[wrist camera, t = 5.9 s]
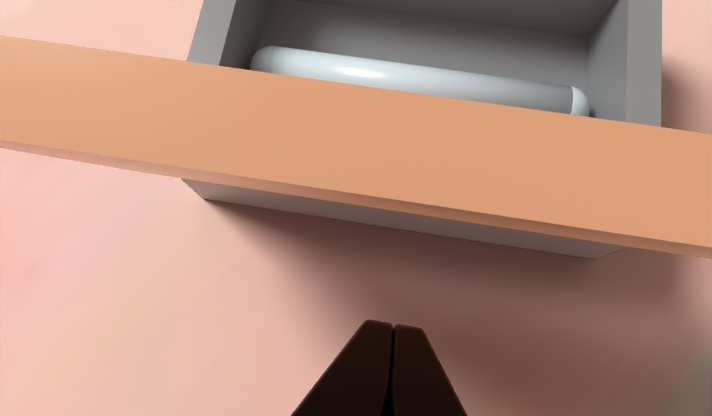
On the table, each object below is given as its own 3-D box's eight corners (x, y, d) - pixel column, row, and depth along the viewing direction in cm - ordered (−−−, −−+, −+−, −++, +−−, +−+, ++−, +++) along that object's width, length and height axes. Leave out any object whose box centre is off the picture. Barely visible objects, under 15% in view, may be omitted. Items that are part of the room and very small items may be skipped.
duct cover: (680, 222, 13) (675, 253, 13) (146, 142, 14) (142, 171, 14) (1525, 246, 3) (1507, 367, 3) (-400, -20, 4) (-415, 77, 4)
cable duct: (595, 259, 17) (660, 234, 14) (202, 198, 18) (158, 158, 14) (604, 34, 20) (662, -42, 16) (255, -11, 21) (230, -93, 17)
